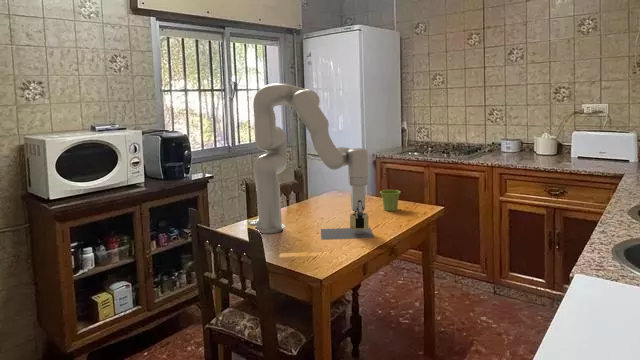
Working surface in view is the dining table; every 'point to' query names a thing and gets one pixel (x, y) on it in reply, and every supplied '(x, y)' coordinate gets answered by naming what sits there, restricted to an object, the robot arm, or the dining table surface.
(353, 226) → the brass ring
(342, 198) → the dining table surface
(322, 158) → the robot arm
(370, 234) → the piston stand
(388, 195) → the plant pot
